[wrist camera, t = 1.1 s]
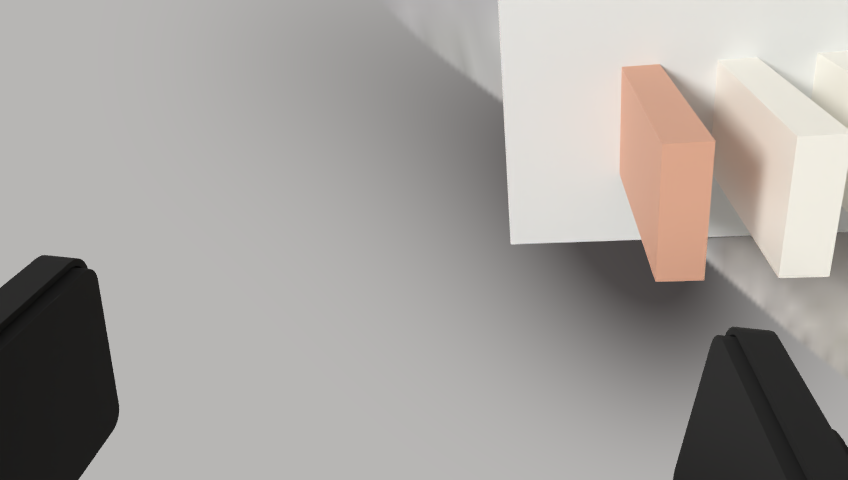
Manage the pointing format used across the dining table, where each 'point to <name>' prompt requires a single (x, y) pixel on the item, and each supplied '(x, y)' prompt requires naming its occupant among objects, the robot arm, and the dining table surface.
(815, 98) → the domino
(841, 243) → the dining table surface
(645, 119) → the domino
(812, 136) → the domino
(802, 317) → the dining table surface
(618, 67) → the runner mat
